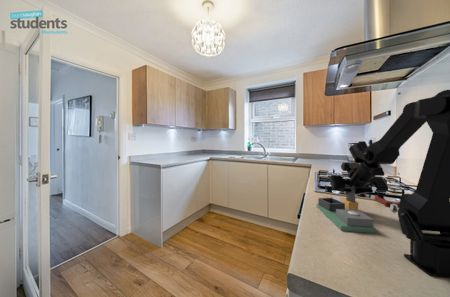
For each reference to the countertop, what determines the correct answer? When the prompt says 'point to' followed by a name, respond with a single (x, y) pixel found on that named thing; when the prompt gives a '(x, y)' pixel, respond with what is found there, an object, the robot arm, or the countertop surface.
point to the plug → (351, 200)
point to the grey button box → (354, 218)
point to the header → (331, 204)
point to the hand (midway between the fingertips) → (349, 193)
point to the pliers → (387, 203)
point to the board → (342, 225)
